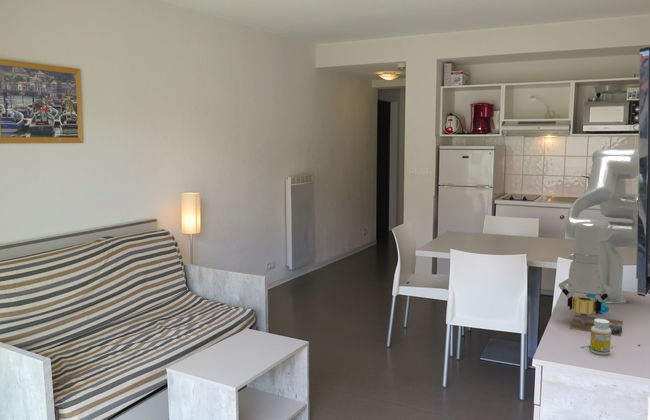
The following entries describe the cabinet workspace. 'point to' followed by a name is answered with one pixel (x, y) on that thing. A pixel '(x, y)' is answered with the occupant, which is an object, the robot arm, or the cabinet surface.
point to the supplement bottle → (600, 337)
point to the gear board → (587, 323)
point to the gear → (603, 307)
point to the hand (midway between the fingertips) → (584, 310)
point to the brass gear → (584, 304)
